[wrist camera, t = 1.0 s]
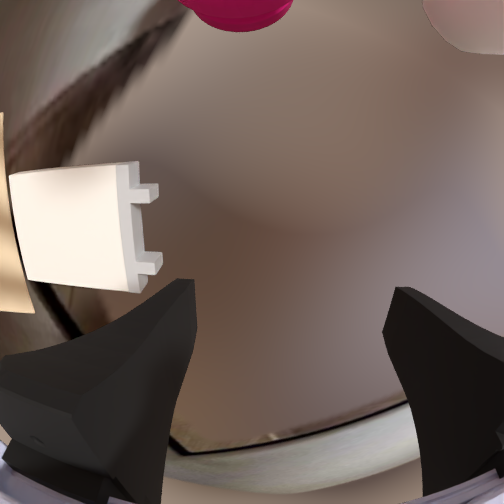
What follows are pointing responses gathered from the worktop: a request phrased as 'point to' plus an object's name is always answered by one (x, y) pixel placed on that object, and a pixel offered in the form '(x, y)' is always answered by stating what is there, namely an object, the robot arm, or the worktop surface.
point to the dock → (10, 252)
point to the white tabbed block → (84, 225)
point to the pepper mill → (239, 13)
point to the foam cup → (469, 23)
